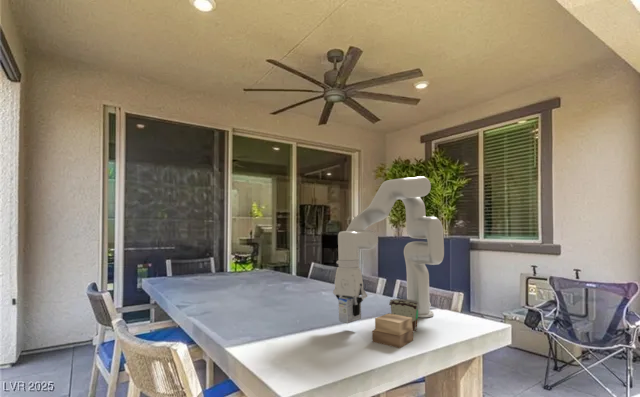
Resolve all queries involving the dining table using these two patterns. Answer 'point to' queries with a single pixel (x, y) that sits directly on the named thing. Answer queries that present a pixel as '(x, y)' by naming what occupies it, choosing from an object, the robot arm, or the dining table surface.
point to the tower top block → (393, 324)
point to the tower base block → (392, 338)
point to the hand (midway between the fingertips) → (350, 313)
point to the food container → (406, 309)
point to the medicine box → (347, 310)
